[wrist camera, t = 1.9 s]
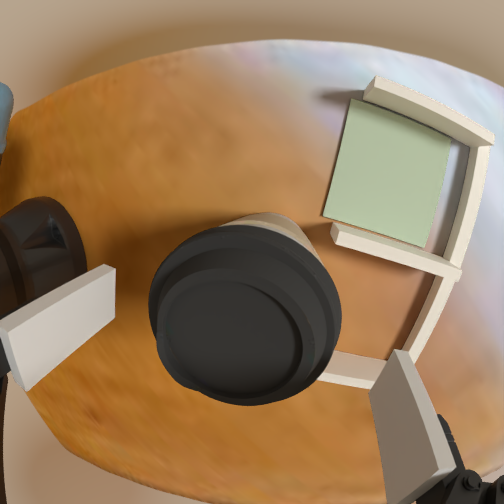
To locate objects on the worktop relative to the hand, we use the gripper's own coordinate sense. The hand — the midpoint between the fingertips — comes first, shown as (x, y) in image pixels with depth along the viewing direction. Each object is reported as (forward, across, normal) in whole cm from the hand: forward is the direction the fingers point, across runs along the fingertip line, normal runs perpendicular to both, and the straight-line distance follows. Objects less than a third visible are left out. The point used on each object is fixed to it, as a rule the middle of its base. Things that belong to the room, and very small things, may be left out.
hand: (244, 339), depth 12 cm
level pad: (+14, +8, +10) cm, 18 cm away
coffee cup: (+14, 0, 0) cm, 14 cm away
